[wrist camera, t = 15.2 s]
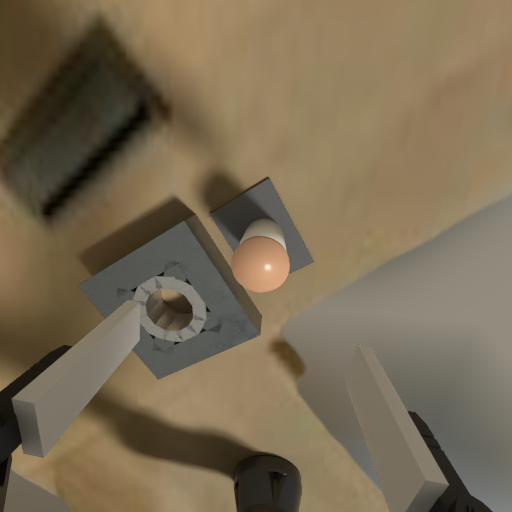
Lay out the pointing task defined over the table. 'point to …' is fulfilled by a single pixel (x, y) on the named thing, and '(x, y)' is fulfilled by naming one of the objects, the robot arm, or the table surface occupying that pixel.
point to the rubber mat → (261, 207)
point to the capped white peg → (261, 257)
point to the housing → (187, 283)
